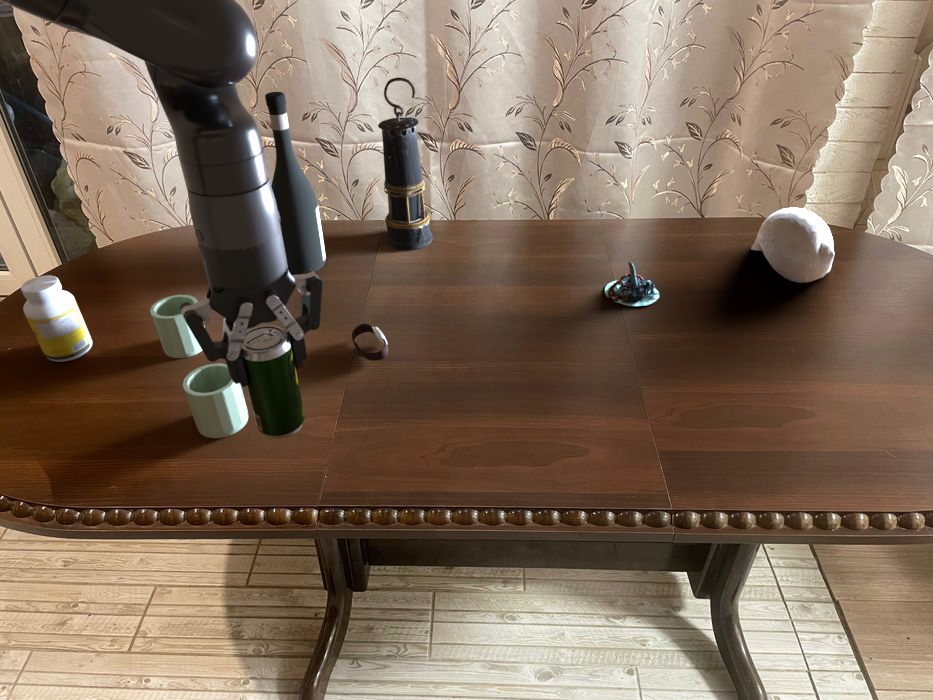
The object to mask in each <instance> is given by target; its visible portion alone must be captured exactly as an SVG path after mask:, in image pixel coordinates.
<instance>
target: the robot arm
mask: <svg viewBox="0 0 933 700" xmlns="http://www.w3.org/2000/svg"><path fill="white" fill-rule="evenodd" d="M0 2H1V3H4V4H6V5H9V6H11V7H13V8H15V9H18V10H20V11H22V12H25V13H27V14H29V15H32V16H34V17H36V18H39V19H41V20H44V21H46V22H50V24H53V25H57V26H59V27H61V28H64V29H67V30H70V31H73V32H75V33H79V34H82V35H86V36H88V37H92V38H95V39H98V40H100V41H102V42H105V43H107V44H109V45H111V46H113V47H115V48H116V49H119V50H121V51H123V52H125V53H128V54H129V55H131V56H133V57H135V58H138V59H140V60H142V61H143V63H144V65H145V67H146V70H147V73H148V75H149V78H150V80H151V83H152V85H153V88H154V91H155V93H156V95H157V98H158V100H159V103H160V104H161V108H162V109H163V112H164V115H165V116H166V118H167V121H168V123H169V125H170V128H171V130H172V133H173V136H174V141H175V147H176V151H177V157H178V160H179V163H180V167H181V171H182V172H181V173H182V176H183V179H184V182H185V183H184V184H185V187H186V191H187V199H188V208H189V213H190V218H191V222H192V225H193V230H194V233H195V237H196V242H197V245H198V248H199V253H200V256H201V257H200V258H201V261H202V264H203V268H204V271H205V275H206V279H207V283H208V289H207V291H206V297H205V298H203V299H201V300H198V301H197V303H194V304H191V303H188V302H185V303H183V304H181V305H180V311H181V313H182V315H183V317H184V319H185V321H186V323H187V325H188V326H189V328H190V330H191V332H192V333H193V335H194V337H195V338H196V340H197V342H198V344H199V345H200V347H201V349H202V350H203V351H202V352H203V354H204V355H205V357H206V359H207V360H208V361H209V362H212V363H213V362H217V361H218V360H225V364H227V368H228V372H229V375H230V377H231V378H232V380H233V382H234V383H235V384H238V383H240V385H241V388H243V387H247V386H248V385H249V384H248V379H247V375H246V371H245V367H244V363H243V359H242V357H241V355H240V354H239V353H240V349H241V344H242V342H243V341H244V340H245V336H246V331H248V330H250V329H252V328H255V327H258V326H259V325H260V324H264V323H266V324H267V323H273V322H275V321H277V319H278V320H279V321H280V323H281V324H282V325H283V327H284V329H286V332H287V336H288V338H289V339H290V341H291V346H292V351H293V357H294V362H295V367H296V370H298V369H300V368H303V367H304V362H306V361H307V359H308V354H307V347H306V342H305V335H306V334H307V333H308V332H309V331H316V330H318V329H319V328H320V326H321V325H320V324H321V312H322V297H323V295H322V294H323V280H322V279H321V278H320V277H319V276H318V274H316V273H315V272H313V271H312V270H311V269H307V270H305V271H304V272H303V274H292V273H290V272H289V270H288V265H287V260H286V254H285V248H284V243H283V237H282V232H281V226H280V221H281V219H280V214H279V212H278V209H277V204H276V200H275V196H274V193H273V190H272V187H271V185H272V183H271V181H270V177H269V171H268V165H267V160H266V154H265V153H266V152H265V148H264V144H263V138H262V135H261V131H260V128H259V125H258V123H257V121H256V119H255V117H254V116H253V115H252V114H251V113H250V111H248V110H247V108H246V107H245V106H244V104H243V102H242V100H241V98H240V95H239V91H238V88H237V84H238V83H240V82H241V81H243V80H244V79H245V78H246V77H247V76H249V74H250V73H251V71H252V70H253V68H254V67H255V63H256V60H257V58H258V53H259V51H258V50H259V44H258V35H257V31H256V29H255V27H254V24H253V22H252V19H251V18H250V17H249V15H248V13H247V12H246V11H245V9H244V8H243V7H242V6H241V4H240V3H238V1H236V0H0ZM295 289H297V291H298V292H299V293H300V295H301V299H300V300H301V302H300V316H298V317H297V318H294V317H293V316H292V314H291V313H290V312H289V311H288V309H287V308H286V306H287V304H288V303H289V301H290V299H291V296H292V295H293V293H294V291H295ZM211 311H214V312H216V313H217V314H218V315H220V316H222V317H223V321H222V335H221V339H220V341H217V340H216V341H213V339H212V337H211V336H210V334H209V332H208V331H207V329H206V326H207V325H208V324H209V322H210V313H211ZM204 326H205V327H204Z"/></svg>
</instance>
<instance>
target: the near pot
mask: <svg viewBox="0 0 933 700" xmlns="http://www.w3.org/2000/svg"><path fill="white" fill-rule="evenodd" d="M182 389H183V392H184V395H185V397H186V400H187V404H188V406H189V409H190V412H191V415H192V418H193V421H194V424H195V427H196V430H197V431H198V433H199V434H200V435H201V436H203V437H205V438H210V439H221V438H222V439H223V438H226V437H230V436H232V435H234V434H237V433H238V432H240V431H241V430H242V429H243V428H244V427H245V426H246V425H247V423H248V421H249V411H248V407H247V403H246V400H245V395H244V392H243V387H241V385H240V383H238V384H235V383H234V382H233V380H232V378H231V377H230V375H229V372H228V368H227V364H226V363H220V362H219V363H218V362H217V363H210V364H205V365H203V366H199V367H197V368H195V369H193V370H191V371H190V372H189V373H188V374H187V375H186V376H185V377H184V378H183V382H182Z"/></svg>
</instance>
